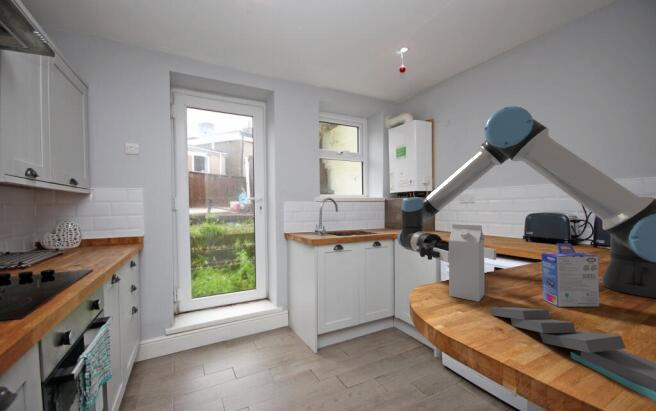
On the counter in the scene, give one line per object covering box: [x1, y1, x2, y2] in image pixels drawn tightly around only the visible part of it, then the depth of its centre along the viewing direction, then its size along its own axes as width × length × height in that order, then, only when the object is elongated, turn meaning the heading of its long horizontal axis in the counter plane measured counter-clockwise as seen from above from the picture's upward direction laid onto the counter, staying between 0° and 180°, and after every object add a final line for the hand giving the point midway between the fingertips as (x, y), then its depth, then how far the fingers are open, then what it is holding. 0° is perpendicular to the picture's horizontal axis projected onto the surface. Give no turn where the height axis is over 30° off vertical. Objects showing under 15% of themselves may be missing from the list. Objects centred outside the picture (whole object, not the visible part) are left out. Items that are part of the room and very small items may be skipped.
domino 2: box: [510, 318, 576, 333], centre depth 50 cm, size 2×5×10 cm
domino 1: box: [490, 306, 552, 320], centre depth 55 cm, size 2×5×10 cm
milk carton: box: [448, 223, 485, 303], centre depth 72 cm, size 7×7×19 cm
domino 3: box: [539, 329, 627, 353], centre depth 44 cm, size 2×5×10 cm
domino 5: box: [570, 350, 656, 402], centre depth 39 cm, size 2×5×10 cm
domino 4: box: [581, 349, 656, 392], centre depth 38 cm, size 2×5×10 cm
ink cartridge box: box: [540, 242, 600, 308], centre depth 67 cm, size 10×6×14 cm, turn 89°
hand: (472, 255), depth 70 cm, fingers open, 13 cm apart
